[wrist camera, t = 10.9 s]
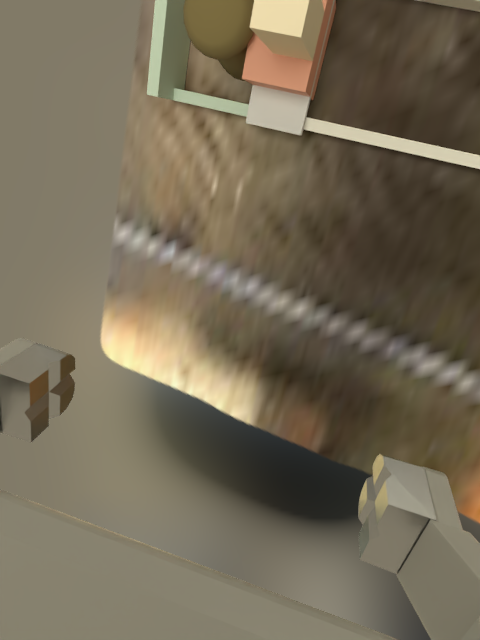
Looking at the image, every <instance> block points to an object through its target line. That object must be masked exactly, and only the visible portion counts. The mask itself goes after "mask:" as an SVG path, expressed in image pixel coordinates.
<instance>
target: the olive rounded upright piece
mask: <svg viewBox="0 0 480 640" xmlns="http://www.w3.org/2000/svg"><path fill="white" fill-rule="evenodd" d="M253 5H254V0H185V3H184V8H183V14H184V24H185V27H186V31H187V34H188V36H189V38H190V40H191V41H192V43H193V44H194V46H195V48H197V49H198V50H199V51H200V52H202V53H203V54H204V55H206V56H208V57H211V58H214V59H218V60H219V62H220V63H221V64H222V66H223V67H224V69H225V70H226V71H227V72H228V73H229V74H230V75H232V76H233V77H234V78H237V79H239V80H242V81H245V80H243V79H242V75H243V69H244V63H245V58H246V52H247V46H248V43H249V41H250V40H251V38H252V36H253V33H254V32H253V31H252V30H251V29H250V22H251V16H252V10H253Z"/></svg>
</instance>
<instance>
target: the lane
mask: <svg viewBox="0 0 480 640" xmlns="http://www.w3.org/2000/svg"><path fill="white" fill-rule="evenodd" d="M416 1H421V2H427V3H433V4H438V5H444V6H450V7H455V8H461V9H467V10H472V11H478V12H480V0H416ZM184 3H185V0H155V8H154V20H153V31H152V42H151V53H150V65H149V76H148V87H147V95H152V96H156V97H161V98H165V99H170V100H175V101H179V102H183V103H188V104H192V105H197V106H201V107H206V108H210V109H215V110H219V111H223V112H228V113H232V114H237V115H241V116H246V117H247V113H248V108H249V104H244V103H240V102H235V101H230V100H226V99H221V98H217V97H212V96H208V95H203V94H199V93H194V92H190V91H185V90H184V88H185V80H186V72H187V64H188V56H189V48H190V38H189V36H188V34H187V31H186V27H185V24H184V14H183V8H184ZM304 130H308V131H312V132H317V133H321V134H326V135H330V136H335V137H339V138H344V139H348V140H352V141H357V142H361V143H366V144H370V145H375V146H379V147H384V148H388V149H393V150H397V151H401V152H406V153H410V154H415V155H419V156H424V157H428V158H433V159H437V160H441V161H446V162H450V163H455V164H459V165H464V166H468V167H473V168H477V169H480V155H475V154H471V153H466V152H462V151H457V150H453V149H448V148H443V147H439V146H434V145H430V144H425V143H421V142H416V141H412V140H407V139H403V138H398V137H394V136H389V135H385V134H380V133H376V132H371V131H366V130H362V129H357V128H353V127H348V126H344V125H339V124H335V123H330V122H326V121H321V120H317V119H312V118H308V117H306V120H305V125H304Z"/></svg>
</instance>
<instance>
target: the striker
mask: <svg viewBox="0 0 480 640" xmlns="http://www.w3.org/2000/svg"><path fill="white" fill-rule="evenodd" d="M335 11H336V0H254V5H253V10H252V16H251V22H250V29H251V30H252V31H253V32H254V33H253V36H252V38H251V40H250V41H249V43H248V46H247V52H246V58H245V63H244V69H243V75H242V79H243V80H245V81H247V82H249V83H251V84H252V85H253V86H252V91H251V97H250V102H249V108H248V113H247V118H246V123H248V124H252V125H257V126H261V127H266V128H270V129H274V130H279V131H283V132H288V133H292V134H296V135H301V136H302V133H303V129H304V125H305V120H306V116H307V112H308V108H309V104H310V100H314V96H315V92H316V88H317V84H318V79H319V75H320V71H321V67H322V63H323V59H324V55H325V51H326V47H327V43H328V39H329V35H330V31H331V27H332V23H333V19H334V15H335Z"/></svg>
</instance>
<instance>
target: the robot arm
mask: <svg viewBox="0 0 480 640" xmlns="http://www.w3.org/2000/svg"><path fill="white" fill-rule="evenodd" d="M74 370H75V358H74V357H73V356H72V355H71V354H68V353H65V352H62V351H60V350H57V349H54V348H51V347H48V346H45V345H42V344H38V343H36V342H33V341H30V340H27V339H24V338H19V339H16V340H14V341H13V342H11V343H9V344H7V345H6V346H4V347H2V348H1V349H0V433H3V434H7V435H9V436H12V437H16V438H19V439H22V440H25V441H28V442H32V441H33V440H34V439H35V438H37V437H38V436H39V435H40V434H41V433H42V432H43V431H44V430H45V429H46V428H47V427H48V426H49V419H50V418H53V417H56V416H60V415H61V414H62V413H63V412H64V411H65V410H66V409H67V407H68V405H69V403H70V402H71V400H72V398H73V394H74V389H75V388H74V387H75V383H74V380H73V379H72V377H71V375H70V373H71V372H72V371H74ZM358 512H359V513H358V515H359V520H360V521H361V523H362V524H363V527H362V529H361V531H360V533H359V554H360V560H361V561H364V562H367V563H369V564H372V565H374V566H377V567H380V568H383V569H385V570H387V571H390V572H393V573H395V574H398V575H397V577H398V579H399V581H400V583H401V585H402V587H403V589H404V590H405V592H406V594H407V596H408V598H409V600H410V602H411V603H412V605H413V607H414V609H415V611H416V613H417V614H418V616H419V618H420V620H421V622H422V623H423V626H424V627H425V629H426V631H427V633H428V635H429V637H430V638H431V640H480V543H479V542H478V541H477V540H476V539H475V538H474V537H473V536H472V535H471V533H469V532H467V531H464V530H463V529H462V525H461V522H460V519H459V515H458V512H457V509H456V505H455V502H454V498H453V495H452V492H451V488H450V485H449V482H448V478H447V476H446V475H445V474H444V473H443V472H439V471H436V470H432V469H429V468H426V467H420V466H417V465H414V464H410V463H407V462H404V461H401V460H398V459H395V458H391V457H388V456H385V455H382V454H379V455H378V457H377V458H376V460H375V462H374V464H373V476H372V477H370V478H368V479H366V481H365V484H364V486H363V489H362V492H361V496H360V500H359V509H358ZM0 640H398V639H395V638H393V637H390V636H388V635H385V634H382V633H380V632H377V631H374V630H372V629H369V628H366V627H364V626H361V625H359V624H356V623H353V622H351V621H348V620H345V619H342V618H340V617H337V616H335V615H332V614H329V613H327V612H324V611H321V610H319V609H316V608H313V607H311V606H308V605H305V604H303V603H300V602H298V601H295V600H292V599H290V598H287V597H284V596H282V595H279V594H276V593H273V592H271V591H268V590H266V589H263V588H260V587H258V586H255V585H252V584H250V583H247V582H245V581H242V580H239V579H237V578H234V577H231V576H229V575H226V574H224V573H221V572H218V571H216V570H213V569H210V568H208V567H205V566H202V565H200V564H197V563H195V562H192V561H189V560H186V559H184V558H181V557H179V556H176V555H173V554H171V553H168V552H165V551H163V550H160V549H157V548H155V547H152V546H149V545H147V544H144V543H141V542H139V541H136V540H134V539H131V538H128V537H125V536H123V535H120V534H118V533H115V532H112V531H110V530H107V529H104V528H102V527H99V526H96V525H94V524H91V523H88V522H86V521H83V520H81V519H78V518H75V517H73V516H70V515H67V514H65V513H62V512H59V511H57V510H54V509H51V508H49V507H46V506H43V505H40V504H38V503H35V502H33V501H30V500H27V499H25V498H22V497H20V496H16V495H14V494H11V493H9V492H6V491H4V490H1V489H0Z"/></svg>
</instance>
